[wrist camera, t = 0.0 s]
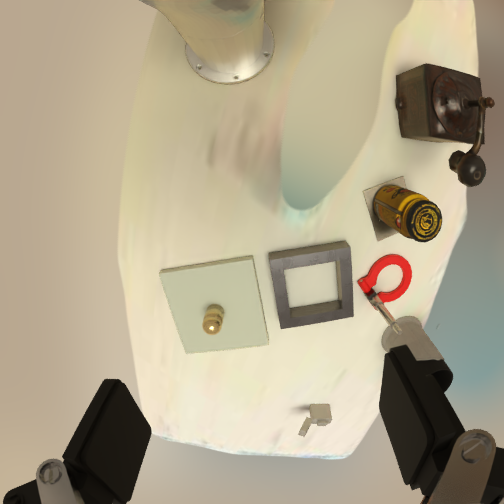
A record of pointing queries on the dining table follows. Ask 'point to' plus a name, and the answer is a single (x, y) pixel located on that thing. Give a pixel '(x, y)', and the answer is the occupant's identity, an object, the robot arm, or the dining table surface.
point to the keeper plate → (216, 292)
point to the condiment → (402, 212)
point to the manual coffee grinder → (445, 114)
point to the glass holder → (419, 349)
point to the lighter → (316, 417)
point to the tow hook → (382, 297)
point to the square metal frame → (305, 258)
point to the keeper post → (213, 319)
